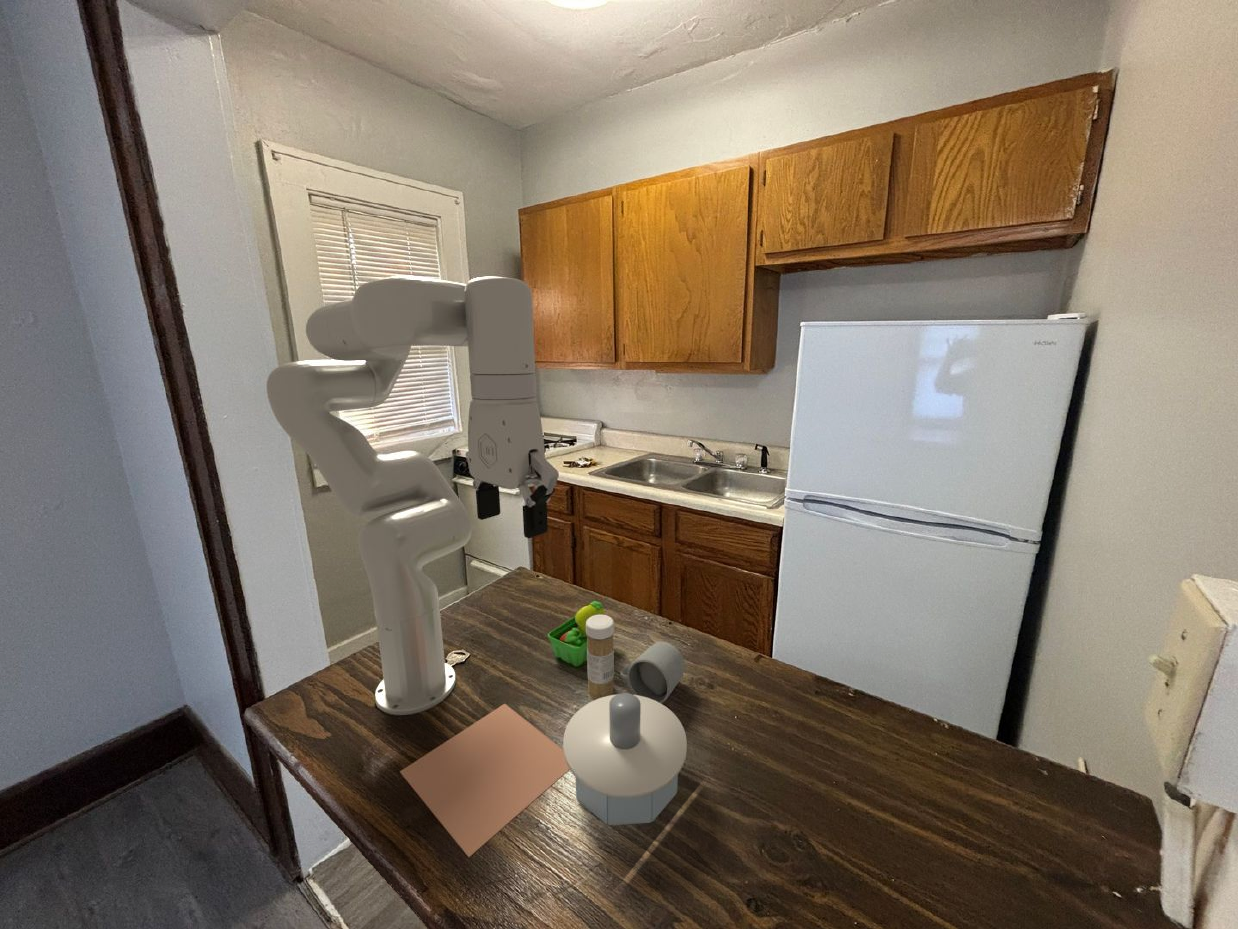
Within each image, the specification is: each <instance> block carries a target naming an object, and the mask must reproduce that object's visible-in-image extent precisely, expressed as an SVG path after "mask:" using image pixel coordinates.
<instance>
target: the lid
mask: <svg viewBox="0 0 1238 929" xmlns="http://www.w3.org/2000/svg"><path fill="white" fill-rule="evenodd" d="M562 740H563V744H562V746H563V748H562V749H563V750H564V756H565V760H566V763H567V765H568V767H569V769H570V770H569V771H570V772H571V774H573V776H574V777H575V779H576V778H577V779H578V780H579V781H580V782H581V783H582V784H584V785H585V786H587V787H588V788H590V789H592V790H594V791H596V792H598V793H601V794H604V795H608V796H612V797H620V798H632V797H640V796H644V795H648V794H650V793H653V792H656V791H658V790H659V789H661V788H663V787H665V786H666V785H667V784H669V783H670V782H671V781H672V780H673V779H674V778H675V777H676V776H677V774H678V775H679V773H680V772H681V770H682V768H683V766H684V764H685V761H686V757H687V750H688V749H687V748H688V746H687V744H688V742H687V740H688V739H687V736H686V731H685V728H684V726H683V724H682V722H681V720H680V719H679V718H678V716H677V715H676V714H675V713H674V712H673V711H672V710H671V709H669V708H668V707H667V706H665V705H664V704H663V703H659V702H657V701H655V700H652V699H650V698H647V697H643V696H638V695H635V694H632V693H626V692H625V693H617V694H613V695H610V696H606V697H602V698H599V699H593V700H592V701H590V702H589V703H586V704H585V705H584V706H582V707H581V708H580V709H579V710H577V711H576V712H575V713H574V715H573V716H572V717H571V719H570V720H569V721H568V723H567V725H566V727H565V730H564V734H563V739H562Z"/></svg>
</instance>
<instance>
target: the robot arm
mask: <svg viewBox="0 0 1238 929" xmlns="http://www.w3.org/2000/svg"><path fill="white" fill-rule="evenodd" d="M533 306H534V304H533V293H532V289H531V288H530V286H529V285H528V283H526V281H524V280H521V279H517V278H514V277H505V276H482V277H476V278H473V279H470V280H469V281H468V282H467V283H460V282H455V281H450V280H444V279H436V278H430V277H425V276H424V277H423V276H414V275H394V276H389V277H384V278H379V279H376V280H372V281H367V282H365V283H362V284H360V285H359V286H358V288H357V289H356V291H355V293H354V295H353V298H350V299H347V300H346V299H345V300H341V301H337V302H333V303H329V304H325V305H322V306H321V307H319V308H318V309H316V310H315V311H313V312H312V314H311V315H310V316H309V318H307V321H306V325H305V334H306V337H307V340H308V342H309V343H310V345H311V347H313V349H314V350H315V351H317V352H318V354H320V355H322V356H324V357H326V358H328V359H308V360H297V361H290V362H287V363H284V364H281V365H279V366H277V367H275V368H274V369H273V370H272V371H271V372H270V373H269V374H268V377H267V381H266V392H267V393H266V394H267V398H268V399H267V400H268V402H269V405H270V408H271V410H272V413H273V415H274V417H275V419H276V421H277V422H278V424H279V425H280V426H281V428H282V430H284V432H285V433H286V434H287V435H288V436H289V437H290V438H291V439H292V440H293V441H294V442H295V443H296V444H297V445H298V446H299V447H300V448H301V449H302V450H303V451H304V452H305V453H306V454H307V455H308V456H309V458H310V459H311V461H312V462H313V463H314V465H315V466H316V468H317V470H318V471H319V473H320V474H321V475H322V477H323V479H324V480H325V482H326V484H327V485H328V487H329V488H330V490H331V491H332V493H333V495H334V496H335V498H336V499H337V501H338V502H339V504H340V505H341V506H342V508H343V510H344V511H345V512H346V513H348V514H349V515H350V516H352V517H355V518H361V519H362V518H369V517H373V516H377V515H380V516H377V517H375V518H373V519H372V520H370V521H368V522H367V523H366V524H365V525H363V527H362V528H361V530H360V531H359V534H358V539H357V547H358V552H359V555H360V558H361V561H362V563H363V566H364V568H365V572H366V576H367V578H368V582H369V586H370V592H371V597H372V603H373V605H372V606H373V611H374V615H375V623H376V624H375V625H376V632H377V637H378V639H377V640H378V645H379V654H380V661H381V662H380V663H381V668H382V678H383V679H382V680H381V681H380V683H379V684H378V686H377V687H376V688H375V693H374V701H375V704H376V707H377V708H378V709H379V710H380V711H382V712H384V713H385V714H388V715H394V716H406V715H414V714H417V713H420V712H424V711H426V710H430V709H431V708H433V707H434V706H437V705H438V704H440V703H441V702H442V701H444V700H445V699H446V698H447V697H448V696H449V695H450V694H451V693H452V691H453V689H455V685H456V682H457V679H456V678H457V677H456V671H455V669H454V668H453V666H451V665H450V664H448V663H446V662H445V660H446V659H445V652H444V641H443V632H442V631H443V629H442V620H441V611H440V608H441V607H440V601H439V593H438V588H437V585H436V583H435V582H434V580H432V578H430V577H429V576H427V575H426V574H425V573H424V571H423V569H422V568H423V567H424V566H425V565H426V564H428V563H431V562H432V561H435V560H437V559H439V558H443V557H444V556H446V555H449V554H451V553H452V552H455V551H457V550H459V549H461V548H463V547H464V546H465V545H466V544H467V543H468V542H469V541H470V539H471V536H472V533H473V528H472V527H473V525H472V521H471V516H470V515H469V513H468V510H467V509H466V507H465V505H464V504H463V503H462V501H461V499H460V498H459V497H458V495H457V494H456V492H455V491H454V489H453V488H452V487H451V485H450V484H449V482H448V481H447V479H446V478H445V476H444V475H443V474H442V472H441V470H440V469H439V468H438V466H437V464H435V462H433V460H432V459H431V458H429V457H428V456H427V455H425V454H423V453H422V452H419V451H416V450H400V451H394V452H391V453H390V452H389V453H381V452H378V451H376V449H374V448H373V446H372V445H371V443H370V442H369V440H368V439H367V438H366V436H365V435H364V434H363V433H362V432H361V431H360V430H359V429H357V427H355V426H354V425H352V424H351V423H349V422H348V421H346V420H344V419H341V418H339V417H338V416H336V415H334V414H332V413H331V412H340V411H350V410H359V409H370V408H374V407H375V408H376V407H379V406H380V405H382V404H383V403H385V401H387V399H388V398H389V396H390V395H391V393H392V391H393V388H394V387H395V385H396V383H397V380H398V378H399V376H400V374H401V372H402V370H403V368H404V367H405V364H406V361H407V360H408V357H409V355H410V352H411V347H414V346H416V347H417V346H419V347H423V346H425V347H428V346H433V347H434V346H436V347H439V346H441V347H442V346H443V347H445V346H446V347H448V346H449V347H467V350H468V351H467V353H468V354H467V355H468V365H469V379H470V395H471V399H470V402H469V410H468V418H467V419H468V421H467V447H468V448H467V451H466V452H465V458H466V461H467V464H468V469H469V470H468V472H469V475H470V476H471V477H472V480H473V481H472V487H473V488H474V490H475V499H476V500H475V501H476V513H477V519H478V520H481V521H482V520H485V519H486V520H487V519H490V518H493V517H497V516H500V514H501V501H500V500H501V498H500V497H501V496H500V488H503V489H507V490H515V489H517V488H518V490H519V492H520V494H521V496H522V498H523V500H524V502H525V504H524V505H522V524H523V526H522V527H523V535H524V538H526V539H532V538H534V537H537V536H541V535H543V534H545V533H547V532H548V526H549V525H548V505H547V504H548V503H549V502H550V501H551V497H552V495H553V494H554V493H555V491H556V488H555V487H556V485H557V483H558V482H557V481H558V480H559V471H558V470H557V468H555V467H554V466H553V465H552V464H551V463H550V462H549V461H548V460H547V459H546V456H545V453H546V452H545V441H544V432H543V424H542V418H541V415H540V414H541V413H540V409H539V405H538V401H537V383H536V381H537V380H536V365H535V364H536V358H535V339H534V336H535V334H534V332H535V331H534V310H533ZM530 487H534V489H535V490H534V491H533V493H532V491H531V489H530Z"/></svg>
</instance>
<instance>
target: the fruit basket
mask: <svg viewBox="0 0 1238 929" xmlns="http://www.w3.org/2000/svg"><path fill="white" fill-rule="evenodd" d="M594 615H605V610H604V605H603V604H602V602H600V601H597V600H596V601H591V602H590V603H589V605H586V606H583V607H581V608H580V609H579V610H578V611H577V612H576V613H575V616H573V617H572V618H570V619H569V620H567V621H565V622H564V623H562V624H561V625H559V626H558V627H556V628H555V629H553V630H552V631H550V632H548V634H547V637H548V640H549V641H550V644H551V647H552V650H553V653H554V655H555V657H556V658H558V659H561V660H562V661H564V662H566V663H567V664H571V665H572V666H574V667H580V666H581V665H583V663H584V662H587V634H586V621H587V620H588V619H589V618H590V617H592V616H594Z"/></svg>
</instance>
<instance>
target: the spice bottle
mask: <svg viewBox="0 0 1238 929" xmlns="http://www.w3.org/2000/svg"><path fill="white" fill-rule="evenodd" d="M614 622H615V621H614V619H613V618H612V617H611V616H610V615H606V614H604V615H594V616H592V617H590V618H589V619H588V620H587V621H586V634H587V660H586V662H587V666H586V667H587V668H586V669H587V685H588V686H587V694H588V696H589V697H590V698H592V699H593V700H597V699H599V698H602V697H606V696H610V695H614V693H615V688H614V677H615V658H614V656H615V654H614V653H615V652H614V651H615V649H614V633H615V623H614Z"/></svg>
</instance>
